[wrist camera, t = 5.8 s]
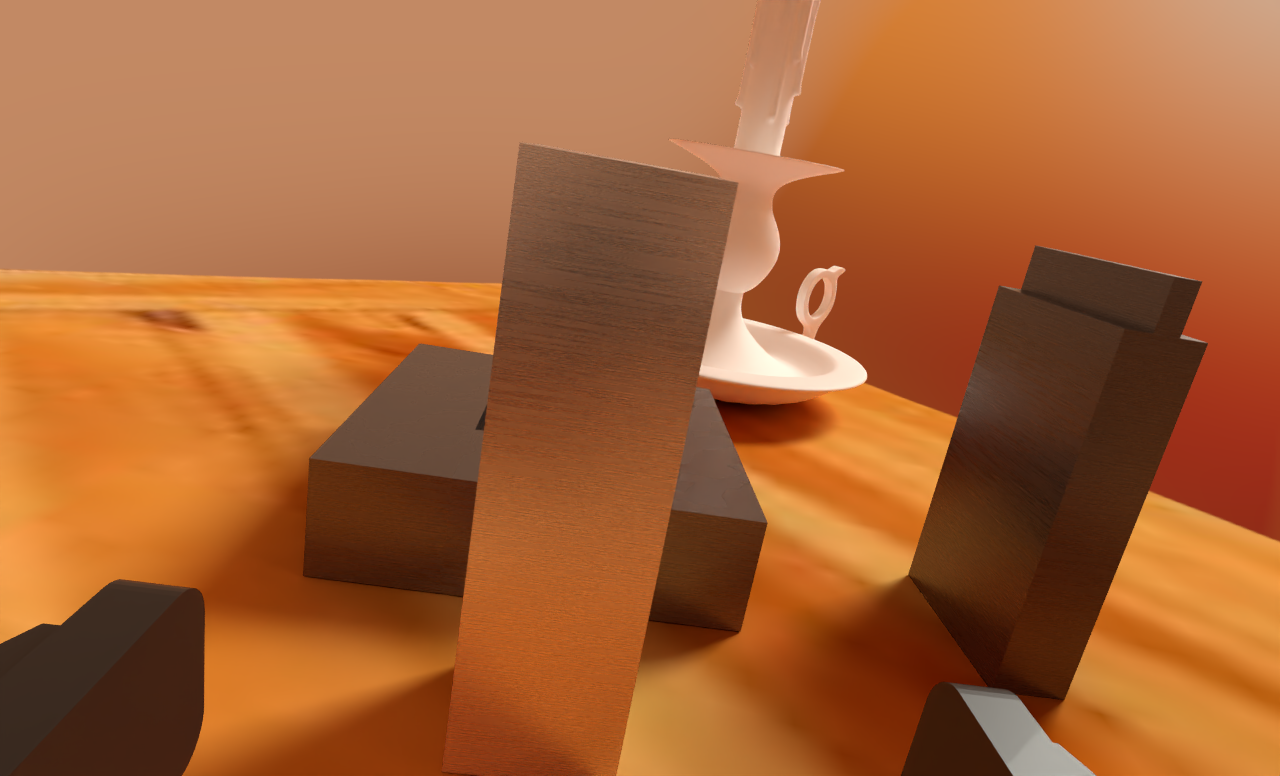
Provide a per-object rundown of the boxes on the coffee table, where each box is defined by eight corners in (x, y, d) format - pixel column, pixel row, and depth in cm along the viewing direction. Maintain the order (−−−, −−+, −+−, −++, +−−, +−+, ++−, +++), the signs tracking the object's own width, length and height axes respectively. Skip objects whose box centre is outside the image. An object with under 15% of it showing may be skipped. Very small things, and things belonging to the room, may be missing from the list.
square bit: (470, 660, 21) (538, 144, 17) (611, 677, 22) (710, 175, 18) (441, 771, 18) (519, 142, 14) (613, 789, 18) (738, 182, 14)
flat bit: (908, 574, 31) (1013, 241, 27) (966, 582, 31) (1078, 253, 27) (991, 690, 24) (1146, 271, 20) (1064, 699, 25) (1231, 286, 21)
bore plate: (412, 422, 37) (419, 343, 36) (693, 463, 38) (709, 389, 37) (303, 575, 24) (309, 458, 23) (740, 631, 25) (767, 522, 24)
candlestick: (932, 410, 57) (1055, 5, 49) (731, 462, 40) (871, -155, 32) (722, 334, 70) (792, 5, 62) (501, 348, 53) (559, -109, 45)
